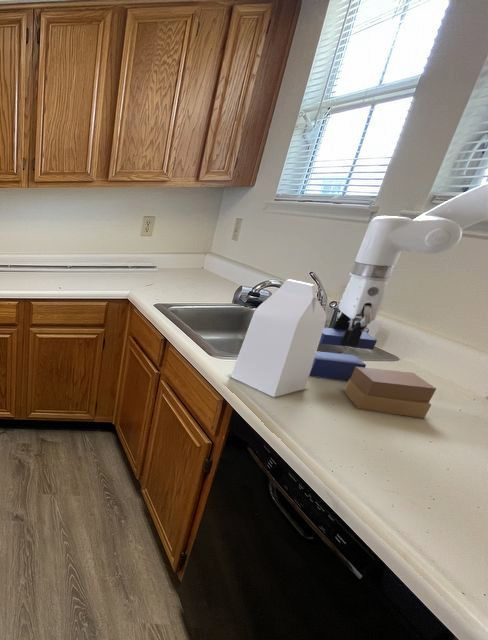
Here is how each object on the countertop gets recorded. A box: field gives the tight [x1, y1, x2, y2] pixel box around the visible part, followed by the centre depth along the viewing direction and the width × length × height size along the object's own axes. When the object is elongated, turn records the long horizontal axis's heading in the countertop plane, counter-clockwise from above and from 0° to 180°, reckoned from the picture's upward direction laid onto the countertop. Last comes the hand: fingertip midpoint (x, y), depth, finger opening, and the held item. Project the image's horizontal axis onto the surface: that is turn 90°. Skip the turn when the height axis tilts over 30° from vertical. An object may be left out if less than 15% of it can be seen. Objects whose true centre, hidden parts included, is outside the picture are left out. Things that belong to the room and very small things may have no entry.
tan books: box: [343, 367, 437, 419], centre depth 96 cm, size 12×9×7 cm
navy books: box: [309, 350, 367, 382], centre depth 111 cm, size 11×7×5 cm, turn 69°
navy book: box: [319, 327, 378, 350], centre depth 108 cm, size 11×6×2 cm, turn 69°
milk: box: [230, 279, 327, 398], centre depth 102 cm, size 12×12×26 cm
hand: (343, 339), depth 108 cm, fingers closed on navy book, 6 cm apart
